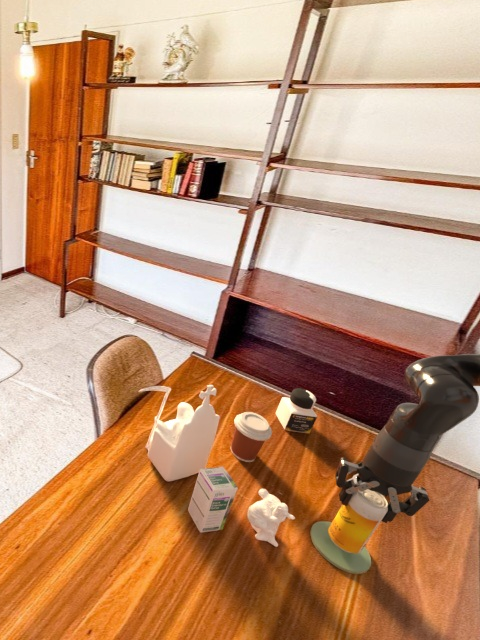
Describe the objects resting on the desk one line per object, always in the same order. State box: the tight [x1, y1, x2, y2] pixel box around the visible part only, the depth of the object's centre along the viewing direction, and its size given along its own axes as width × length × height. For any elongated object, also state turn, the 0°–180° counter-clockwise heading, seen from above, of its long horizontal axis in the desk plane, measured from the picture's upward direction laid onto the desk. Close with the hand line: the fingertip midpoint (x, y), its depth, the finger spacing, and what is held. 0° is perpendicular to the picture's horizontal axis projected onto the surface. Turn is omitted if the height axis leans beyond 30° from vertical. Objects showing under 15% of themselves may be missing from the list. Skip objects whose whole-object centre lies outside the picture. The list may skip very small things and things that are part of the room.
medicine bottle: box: [275, 387, 318, 434], centre depth 119 cm, size 7×7×12 cm
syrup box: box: [187, 465, 238, 534], centre depth 90 cm, size 6×6×14 cm
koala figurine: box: [246, 488, 296, 548], centre depth 88 cm, size 8×7×12 cm
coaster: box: [309, 520, 372, 575], centre depth 88 cm, size 11×11×1 cm
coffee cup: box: [229, 411, 273, 463], centre depth 109 cm, size 9×9×12 cm
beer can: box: [328, 489, 389, 553], centre depth 84 cm, size 6×6×15 cm
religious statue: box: [138, 384, 221, 482], centre depth 102 cm, size 17×14×30 cm
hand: (362, 510), depth 83 cm, fingers closed on beer can, 6 cm apart
